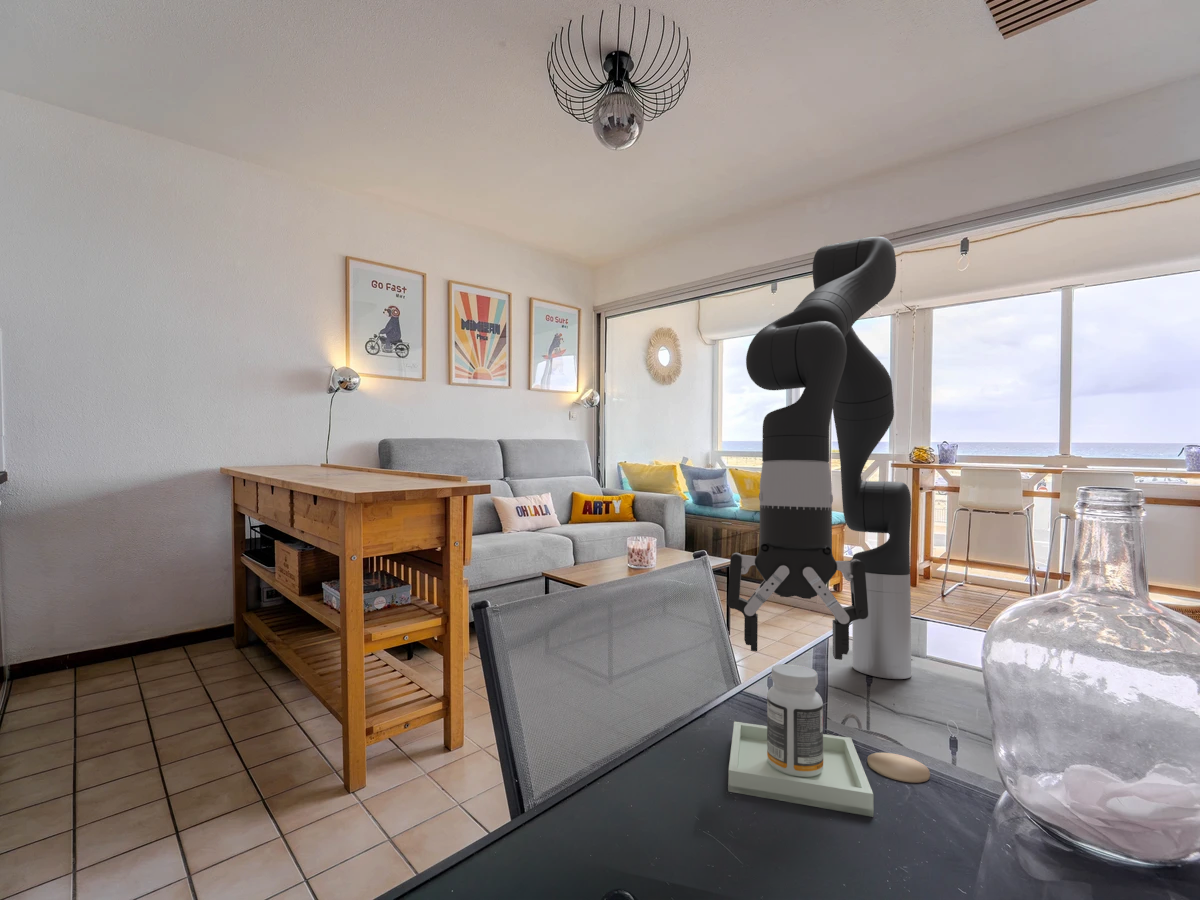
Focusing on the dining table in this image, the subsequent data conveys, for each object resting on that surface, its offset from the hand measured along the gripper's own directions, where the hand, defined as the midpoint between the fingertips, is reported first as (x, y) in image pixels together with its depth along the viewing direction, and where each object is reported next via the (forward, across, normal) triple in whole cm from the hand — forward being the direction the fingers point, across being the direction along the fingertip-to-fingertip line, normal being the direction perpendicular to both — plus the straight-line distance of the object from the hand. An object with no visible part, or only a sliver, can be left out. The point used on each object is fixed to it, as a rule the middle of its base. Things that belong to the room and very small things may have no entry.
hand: (794, 653), depth 60 cm
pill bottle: (+12, 0, 0) cm, 12 cm away
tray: (+12, 0, 0) cm, 12 cm away
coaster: (+12, -11, -5) cm, 17 cm away
